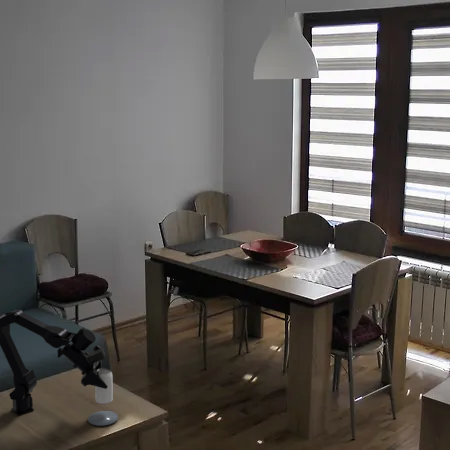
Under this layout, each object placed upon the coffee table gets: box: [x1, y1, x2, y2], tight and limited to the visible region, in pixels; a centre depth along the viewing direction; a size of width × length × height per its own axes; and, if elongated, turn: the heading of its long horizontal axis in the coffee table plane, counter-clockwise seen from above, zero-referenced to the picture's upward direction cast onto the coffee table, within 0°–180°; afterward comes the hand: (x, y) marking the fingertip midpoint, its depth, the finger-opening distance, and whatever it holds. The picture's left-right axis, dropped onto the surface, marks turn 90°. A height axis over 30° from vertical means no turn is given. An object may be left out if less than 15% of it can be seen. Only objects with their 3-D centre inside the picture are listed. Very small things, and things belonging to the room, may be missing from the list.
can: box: [94, 367, 114, 405], centre depth 261 cm, size 6×6×12 cm
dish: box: [87, 410, 119, 427], centre depth 259 cm, size 11×11×1 cm
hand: (107, 384), depth 261 cm, fingers closed on can, 6 cm apart
